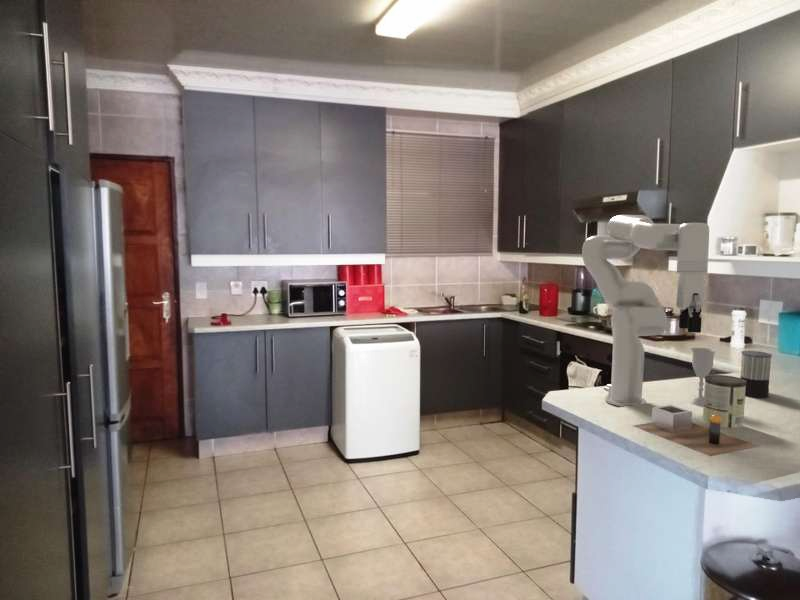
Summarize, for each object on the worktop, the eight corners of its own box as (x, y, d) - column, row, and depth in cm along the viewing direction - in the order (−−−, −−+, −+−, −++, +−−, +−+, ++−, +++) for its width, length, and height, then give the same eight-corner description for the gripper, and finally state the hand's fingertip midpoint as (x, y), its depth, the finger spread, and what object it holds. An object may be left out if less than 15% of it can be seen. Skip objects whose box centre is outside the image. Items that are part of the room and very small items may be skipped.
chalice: (698, 407, 179) (702, 352, 177) (682, 401, 186) (686, 348, 184) (717, 406, 181) (721, 351, 179) (700, 400, 188) (704, 347, 186)
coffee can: (706, 419, 167) (709, 372, 166) (746, 426, 160) (750, 378, 159) (697, 427, 160) (700, 378, 158) (738, 435, 153) (742, 385, 151)
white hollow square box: (651, 424, 156) (652, 407, 156) (669, 422, 159) (670, 404, 159) (672, 432, 150) (673, 414, 149) (690, 429, 153) (692, 411, 152)
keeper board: (632, 430, 156) (632, 425, 155) (678, 423, 163) (678, 418, 163) (710, 462, 134) (710, 455, 134) (759, 451, 141) (760, 445, 141)
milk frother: (774, 399, 190) (777, 356, 189) (723, 396, 193) (726, 353, 192) (756, 388, 204) (759, 348, 203) (709, 386, 207) (712, 346, 206)
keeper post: (705, 441, 143) (707, 413, 143) (712, 440, 144) (714, 412, 144) (715, 445, 141) (717, 416, 140) (722, 443, 142) (724, 415, 141)
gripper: (670, 267, 163) (668, 326, 164) (684, 268, 146) (682, 333, 147) (698, 268, 161) (696, 327, 162) (716, 268, 144) (713, 334, 145)
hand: (689, 330), depth 155 cm, fingers open, 9 cm apart
